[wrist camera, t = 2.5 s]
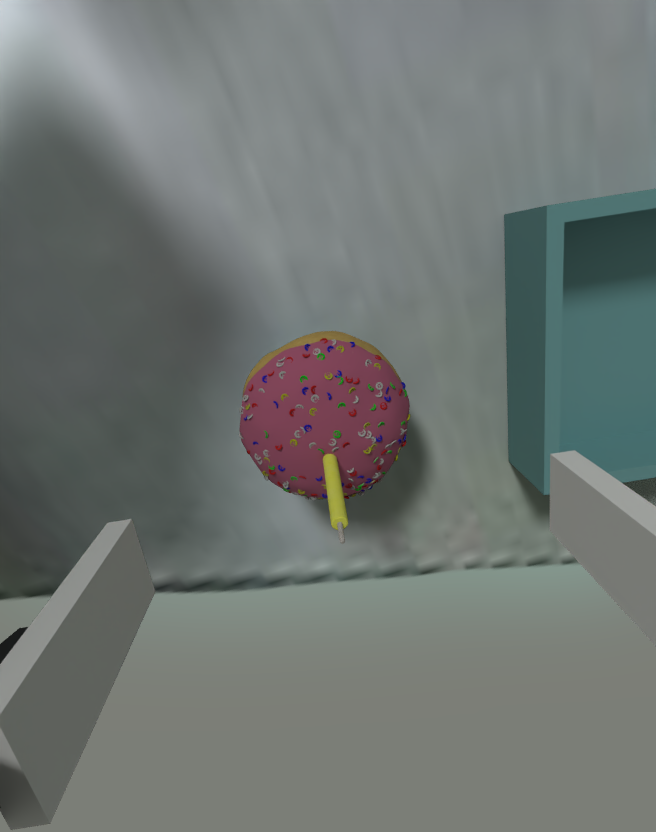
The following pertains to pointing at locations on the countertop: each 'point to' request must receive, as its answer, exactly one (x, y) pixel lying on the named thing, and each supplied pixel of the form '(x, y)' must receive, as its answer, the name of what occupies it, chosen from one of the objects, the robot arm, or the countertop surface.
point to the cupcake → (324, 418)
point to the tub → (582, 335)
